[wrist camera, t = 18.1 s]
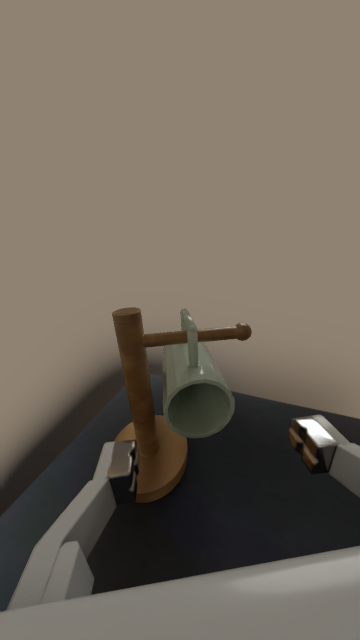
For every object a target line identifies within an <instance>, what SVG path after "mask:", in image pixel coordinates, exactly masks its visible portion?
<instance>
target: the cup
mask: <svg viewBox="0 0 360 640" xmlns="http://www.w3.org/2000/svg"><path fill="white" fill-rule="evenodd" d="M181 327H182V331H187V339H188V343H186V344H176V345H165V346H164V350H163V412H164V420H165V422H166V423H167V425H168V426H169V428H170V429H171V430H172V431H174V432H175V433H177V434H179V435H180V436H183V437H188V438H202V437H208V436H210V435H212V434H214V433H217V432H219V431H220V430H221V429H222V428H224V427H225V426H226V425H227V424H228V423H229V421H230V419H231V417H232V415H233V413H234V403H235V400H234V398H233V396H232V394H231V392H230V390H229V388H228V386H227V384H226V382H225V380H224V379H223V377H222V375H221V373H220V371H219V369H218V367H217V365H216V364H215V361H214V360H213V358H212V356H211V354H210V352H209V350H208V348H207V346H206V345H205V343H204V342H198V335H197V327H196V326H195V324H194V322H193V320H192V318H191V316H190V314H189V312H188V311H187V310H186V309H182V310H181Z"/></svg>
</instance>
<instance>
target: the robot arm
mask: <svg viewBox="0 0 360 640" xmlns="http://www.w3.org/2000/svg"><path fill="white" fill-rule="evenodd" d="M290 425H291V426H292V427H291V428H290V429H289V432H288V437H289V441H290V443H291V445H292V447H293V448H294V450H295V451H296V452H298V453H299V454H301V460H302V461H303V463H304V464H305V466H306V467H307V469H308V470H309V471H310V473H311V474H319V473H328V472H329V474H330V475H331V476H333V477H334V478H335V479H336V480H338V481H339V482H340V483H342V484H343V485H344V486H345V487H347V488H348V489H349V490H350V491H352V492H353V493H354V494H356V495H357V496H358V497H359V498H360V446H358V445H356V444H354V443H350V442H349V441H348V440H347V439H346V438H345V437H344V436H343V435H342V434H341V433H340V432H338V431H337V430H336V429H335V428H334V427H333V426H332V425H331V424H330V423H329V422H328V421H327V420H326V419H325V418H324V417H323V416H321V415H314V416H305V417H298V418H292V419H291V421H290ZM139 468H140V455H139V450H138V449H137V440H136V439H134V440H124V441H115V442H106V443H105V444H104V446H103V448H102V452H101V455H100V458H99V461H98V464H97V468H96V471H95V474H94V477H93V480H92V481H89V482H88V483H87V484H86V485H85V487H84V488H83V489H82V490H81V491H80V493H79V494H78V495H77V496H76V497H75V498H74V500H73V501H72V502H71V503H70V504H69V506H68V507H67V508H66V509H65V510H64V512H63V513H62V514H61V515H60V516H59V518H58V519H57V520H56V521H55V522H54V524H53V525H52V526H51V527H50V528H49V530H48V531H47V532H46V533H45V534H44V535H43V537H42V538H41V539H40V540H39V541H38V543H37V544H36V545H35V546H34V549H33V551H32V553H31V555H30V558H29V560H28V562H27V564H26V567H25V569H24V571H23V574H22V576H21V578H20V580H19V583H18V585H17V587H16V589H15V592H14V594H13V596H12V598H11V601H10V603H9V605H8V607H7V610H6V611H1V612H0V640H360V546H356V547H350V548H345V549H339V550H334V551H328V552H323V553H318V554H312V555H307V556H301V557H296V558H290V559H285V560H279V561H274V562H268V563H263V564H257V565H252V566H247V567H241V568H236V569H230V570H225V571H219V572H214V573H208V574H203V575H197V576H192V577H187V578H181V579H176V580H170V581H165V582H159V583H154V584H148V585H143V586H138V587H132V588H127V589H121V590H116V591H110V592H105V593H99V594H94V595H91V593H92V588H93V583H94V577H93V574H92V572H91V570H90V568H89V565H88V563H87V561H86V560H87V558H88V556H89V555H90V553H91V551H92V549H93V547H94V546H95V544H96V542H97V540H98V539H99V537H100V535H101V533H102V532H103V530H104V528H105V526H106V525H107V523H108V521H109V519H110V517H111V516H112V514H113V512H114V510H115V509H116V507H117V505H119V504H124V503H129V502H135V501H136V496H137V487H138V482H137V475H138V474H139Z"/></svg>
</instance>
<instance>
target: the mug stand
mask: <svg viewBox="0 0 360 640" xmlns="http://www.w3.org/2000/svg"><path fill="white" fill-rule="evenodd" d="M112 316H113V321H114V326H115V331H116V336H117V341H118V347H119V352H120V357H121V363H122V368H123V373H124V378H125V383H126V389H127V394H128V399H129V404H130V409H131V415H132V420H133V422H132V423H130V424H129V425H127V426H126V427H125V428H124V429H123V430H122V431H121V432H120V433H119V434H118V436H117V437H116V439H115V440H114V442H115V441H124V440H134V439H136V440H137V449H138V450H139V455H140V468H139V474H138V475H137V482H138V487H137V496H136V501H135V502H137V503H148V502H152V501H155V500H158V499H160V498H162V497H163V496H165V495H166V494H168V493H169V492H170V491H171V490H172V489H173V488H174V487H175V486H176V485H177V484H178V483H179V481H180V479H181V478H182V476H183V474H184V472H185V469H186V466H187V460H188V449H187V439H186V437H183V436H180V435H179V434H177V433H175V432H174V431H172V430H171V429H170V428H169V426H168V425H167V423H166V422H165V420H164V416H161V415H155V411H154V404H153V397H152V390H151V382H150V375H149V368H148V361H147V353H146V347H155V346H165V345H176V344H186V343H188V339H187V331H177V332H167V333H155V334H146V335H145V334H144V331H143V324H142V317H141V310H140V309H139V308H124V309H119V310H116V311H114V312H113V313H112ZM197 335H198V342H206V341H217V340H227V339H238V340H241V341H244V340H247V339H248V338H249V337H250V336H251V328H250V326H249V325H247V324H245V323H239V324H237V325H235V326H231V327H221V328H209V329H199V330H197Z"/></svg>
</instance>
